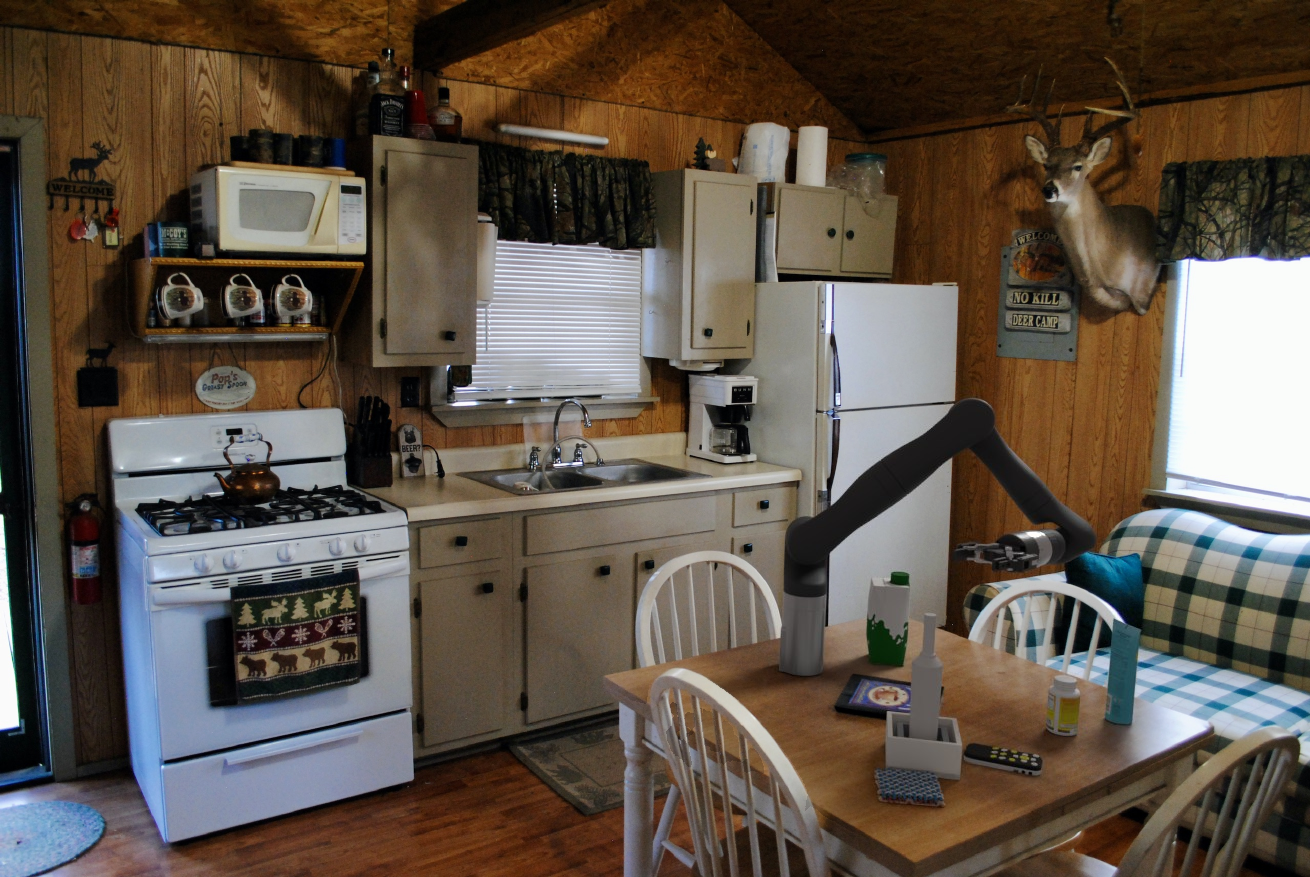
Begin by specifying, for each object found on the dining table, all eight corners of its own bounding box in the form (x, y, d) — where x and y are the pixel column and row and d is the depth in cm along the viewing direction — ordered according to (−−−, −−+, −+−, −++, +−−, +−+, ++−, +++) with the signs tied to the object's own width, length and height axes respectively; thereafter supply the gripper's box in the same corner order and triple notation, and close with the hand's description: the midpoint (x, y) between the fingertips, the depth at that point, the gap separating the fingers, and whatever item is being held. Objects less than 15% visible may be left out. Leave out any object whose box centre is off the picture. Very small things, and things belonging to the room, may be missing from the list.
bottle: (938, 751, 177) (947, 612, 174) (936, 763, 172) (945, 620, 169) (907, 746, 178) (916, 608, 175) (905, 758, 173) (913, 616, 170)
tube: (1142, 725, 193) (1151, 628, 191) (1123, 728, 192) (1131, 630, 190) (1113, 711, 200) (1121, 617, 198) (1093, 714, 199) (1101, 619, 196)
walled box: (885, 771, 170) (887, 737, 170) (885, 742, 182) (887, 710, 181) (959, 780, 168) (962, 745, 167) (954, 750, 180) (956, 718, 179)
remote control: (966, 750, 181) (967, 739, 181) (1042, 765, 176) (1043, 754, 175) (962, 763, 175) (963, 752, 175) (1040, 779, 170) (1041, 767, 170)
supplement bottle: (1083, 732, 189) (1087, 679, 188) (1067, 739, 186) (1072, 686, 185) (1055, 722, 194) (1059, 671, 193) (1039, 729, 190) (1043, 677, 189)
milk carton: (908, 667, 223) (913, 579, 220) (866, 664, 224) (871, 576, 222) (903, 655, 231) (908, 569, 229) (863, 652, 232) (868, 567, 230)
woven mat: (936, 781, 168) (937, 769, 168) (946, 811, 158) (947, 799, 158) (872, 776, 170) (873, 764, 169) (878, 806, 159) (879, 793, 159)
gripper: (992, 525, 202) (942, 533, 192) (1058, 538, 190) (1008, 548, 181) (989, 562, 202) (939, 572, 193) (1055, 577, 191) (1006, 589, 181)
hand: (973, 561), depth 187 cm, fingers open, 8 cm apart
